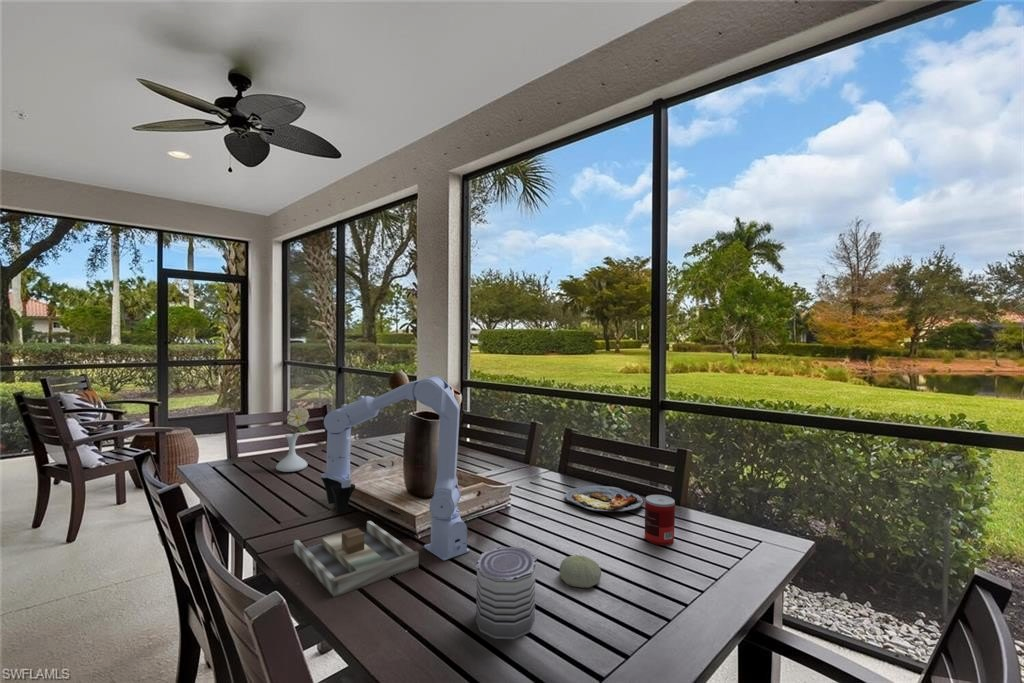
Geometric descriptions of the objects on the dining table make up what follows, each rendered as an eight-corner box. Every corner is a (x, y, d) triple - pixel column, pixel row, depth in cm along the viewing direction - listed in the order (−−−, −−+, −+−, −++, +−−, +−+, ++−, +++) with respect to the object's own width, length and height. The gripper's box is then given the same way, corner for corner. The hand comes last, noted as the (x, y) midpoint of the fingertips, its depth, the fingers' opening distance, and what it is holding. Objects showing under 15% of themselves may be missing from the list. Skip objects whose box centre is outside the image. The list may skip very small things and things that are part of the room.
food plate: (658, 507, 153) (658, 496, 153) (606, 523, 140) (606, 511, 140) (602, 488, 174) (602, 478, 174) (552, 500, 161) (552, 490, 161)
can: (547, 626, 90) (548, 563, 90) (497, 648, 84) (498, 580, 83) (512, 598, 99) (513, 541, 99) (464, 616, 93) (465, 555, 93)
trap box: (418, 567, 112) (418, 552, 112) (333, 597, 99) (333, 581, 99) (370, 531, 131) (370, 519, 131) (293, 552, 118) (294, 539, 118)
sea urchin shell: (595, 587, 101) (571, 554, 103) (570, 605, 104) (548, 572, 107) (610, 569, 108) (587, 539, 111) (587, 587, 111) (565, 556, 114)
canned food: (675, 536, 131) (676, 497, 131) (672, 548, 124) (673, 506, 124) (647, 531, 135) (647, 492, 134) (642, 542, 127) (643, 501, 127)
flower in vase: (269, 473, 183) (269, 408, 182) (287, 465, 194) (288, 404, 194) (300, 475, 181) (300, 409, 180) (317, 467, 192) (317, 405, 192)
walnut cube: (364, 549, 116) (364, 533, 115) (348, 554, 113) (348, 537, 113) (357, 544, 119) (357, 528, 118) (341, 548, 116) (341, 532, 116)
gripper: (315, 451, 126) (313, 501, 127) (330, 464, 115) (328, 520, 115) (342, 447, 130) (340, 497, 131) (359, 460, 119) (358, 514, 119)
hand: (337, 507), depth 123 cm, fingers open, 7 cm apart
